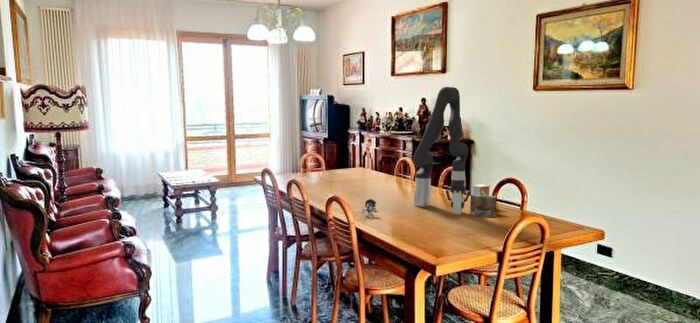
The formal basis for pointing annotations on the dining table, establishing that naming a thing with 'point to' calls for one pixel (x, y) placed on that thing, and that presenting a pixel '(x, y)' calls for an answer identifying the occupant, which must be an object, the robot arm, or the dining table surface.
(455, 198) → the block
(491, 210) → the cleat stand
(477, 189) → the small box
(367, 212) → the artificial flower
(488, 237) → the dining table surface
